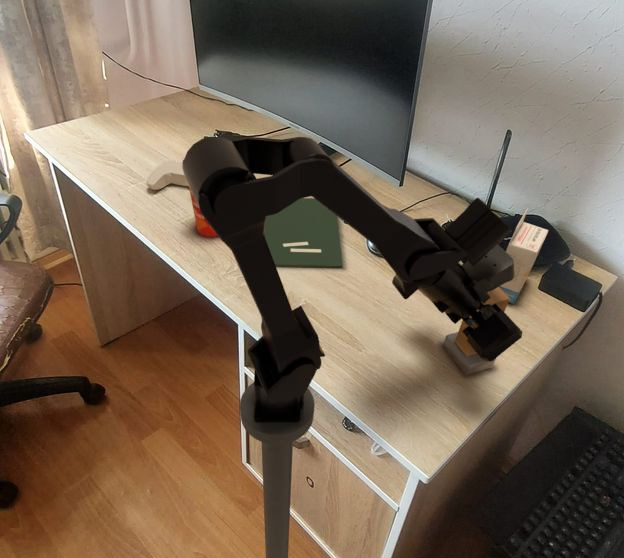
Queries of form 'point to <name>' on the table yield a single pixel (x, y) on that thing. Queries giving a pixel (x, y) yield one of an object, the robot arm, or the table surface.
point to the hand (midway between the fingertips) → (486, 323)
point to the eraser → (462, 349)
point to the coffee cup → (201, 220)
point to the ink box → (523, 255)
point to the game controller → (167, 175)
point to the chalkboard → (304, 236)
